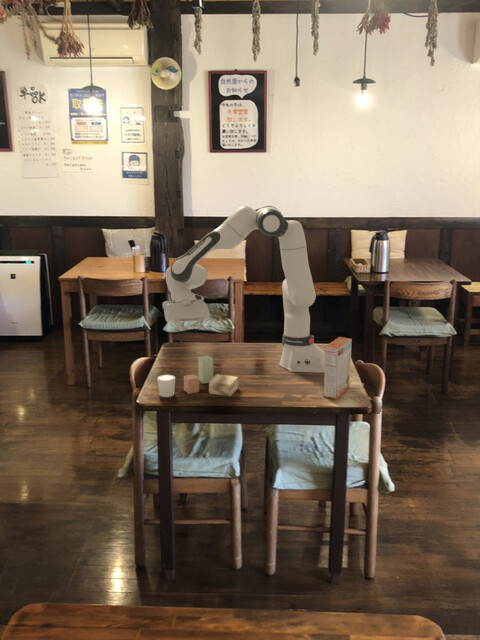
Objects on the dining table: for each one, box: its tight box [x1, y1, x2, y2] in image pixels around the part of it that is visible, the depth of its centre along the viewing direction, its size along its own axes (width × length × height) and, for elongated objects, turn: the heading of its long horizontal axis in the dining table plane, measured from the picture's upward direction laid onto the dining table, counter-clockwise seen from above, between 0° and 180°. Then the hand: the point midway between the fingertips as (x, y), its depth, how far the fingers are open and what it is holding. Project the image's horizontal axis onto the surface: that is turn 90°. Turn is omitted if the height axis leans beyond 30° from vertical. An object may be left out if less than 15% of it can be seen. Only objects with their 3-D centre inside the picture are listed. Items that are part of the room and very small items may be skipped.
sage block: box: [197, 355, 214, 384], centre depth 252 cm, size 4×4×10 cm
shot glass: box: [157, 374, 176, 398], centre depth 238 cm, size 7×7×7 cm
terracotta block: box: [183, 373, 200, 395], centre depth 242 cm, size 4×4×6 cm
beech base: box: [208, 373, 239, 397], centre depth 243 cm, size 9×9×5 cm
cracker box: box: [323, 336, 353, 400], centre depth 240 cm, size 14×6×21 cm, turn 150°
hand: (192, 329), depth 257 cm, fingers open, 8 cm apart
